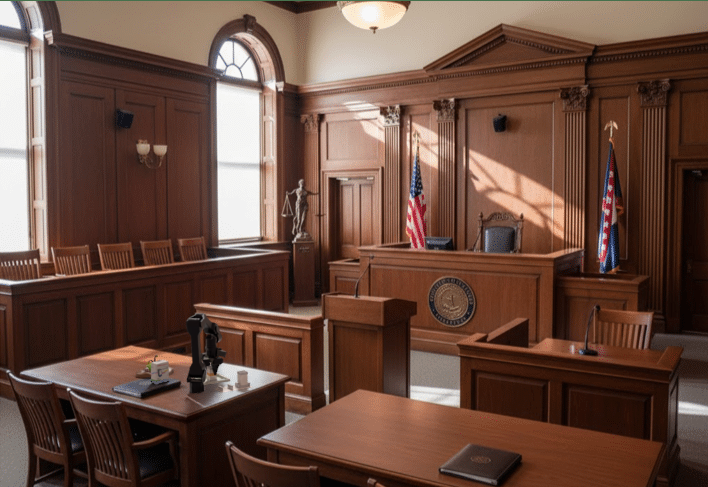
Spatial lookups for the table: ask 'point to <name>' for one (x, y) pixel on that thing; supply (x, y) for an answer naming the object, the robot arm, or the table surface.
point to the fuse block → (232, 387)
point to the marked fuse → (210, 374)
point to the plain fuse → (242, 378)
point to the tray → (217, 379)
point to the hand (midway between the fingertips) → (211, 373)
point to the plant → (147, 371)
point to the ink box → (159, 370)
